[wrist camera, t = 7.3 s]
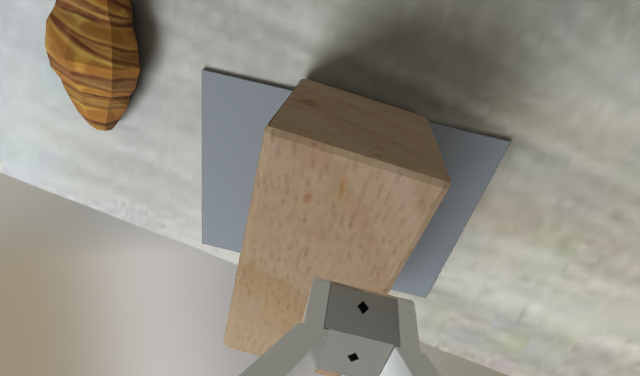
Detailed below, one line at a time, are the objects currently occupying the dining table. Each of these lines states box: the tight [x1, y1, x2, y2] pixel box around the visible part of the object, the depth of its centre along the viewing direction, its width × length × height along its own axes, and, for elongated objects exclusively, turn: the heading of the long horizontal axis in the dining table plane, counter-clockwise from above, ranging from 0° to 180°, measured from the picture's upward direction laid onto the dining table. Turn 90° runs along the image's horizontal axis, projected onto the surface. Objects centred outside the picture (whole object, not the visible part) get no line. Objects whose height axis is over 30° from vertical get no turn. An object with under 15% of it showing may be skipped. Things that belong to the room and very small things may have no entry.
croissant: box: [45, 0, 140, 131], centre depth 24 cm, size 14×7×5 cm, turn 161°
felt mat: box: [202, 69, 510, 298], centre depth 31 cm, size 24×18×1 cm
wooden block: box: [224, 79, 450, 376], centre depth 26 cm, size 10×10×20 cm
